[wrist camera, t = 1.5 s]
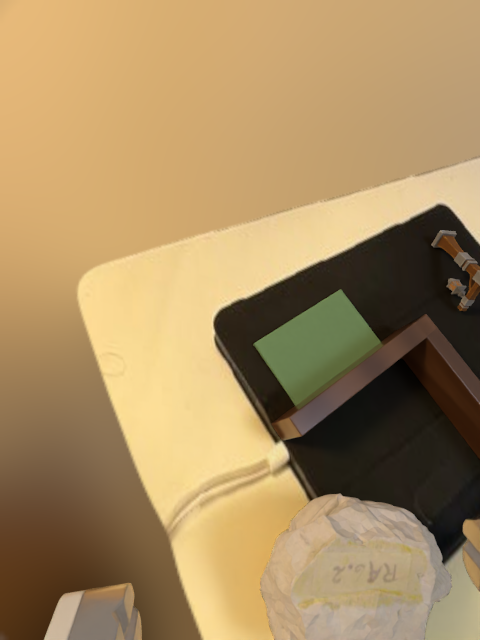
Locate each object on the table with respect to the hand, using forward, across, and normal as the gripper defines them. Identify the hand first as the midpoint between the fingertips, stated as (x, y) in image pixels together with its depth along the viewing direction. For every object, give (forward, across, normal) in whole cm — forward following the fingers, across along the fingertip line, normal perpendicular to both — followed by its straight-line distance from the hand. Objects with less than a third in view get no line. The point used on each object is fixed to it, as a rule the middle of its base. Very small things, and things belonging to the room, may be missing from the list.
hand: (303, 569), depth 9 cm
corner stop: (+19, -12, +12) cm, 25 cm away
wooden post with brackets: (+30, -23, 0) cm, 37 cm away
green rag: (+23, -7, +3) cm, 24 cm away
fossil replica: (+14, -4, +16) cm, 21 cm away
